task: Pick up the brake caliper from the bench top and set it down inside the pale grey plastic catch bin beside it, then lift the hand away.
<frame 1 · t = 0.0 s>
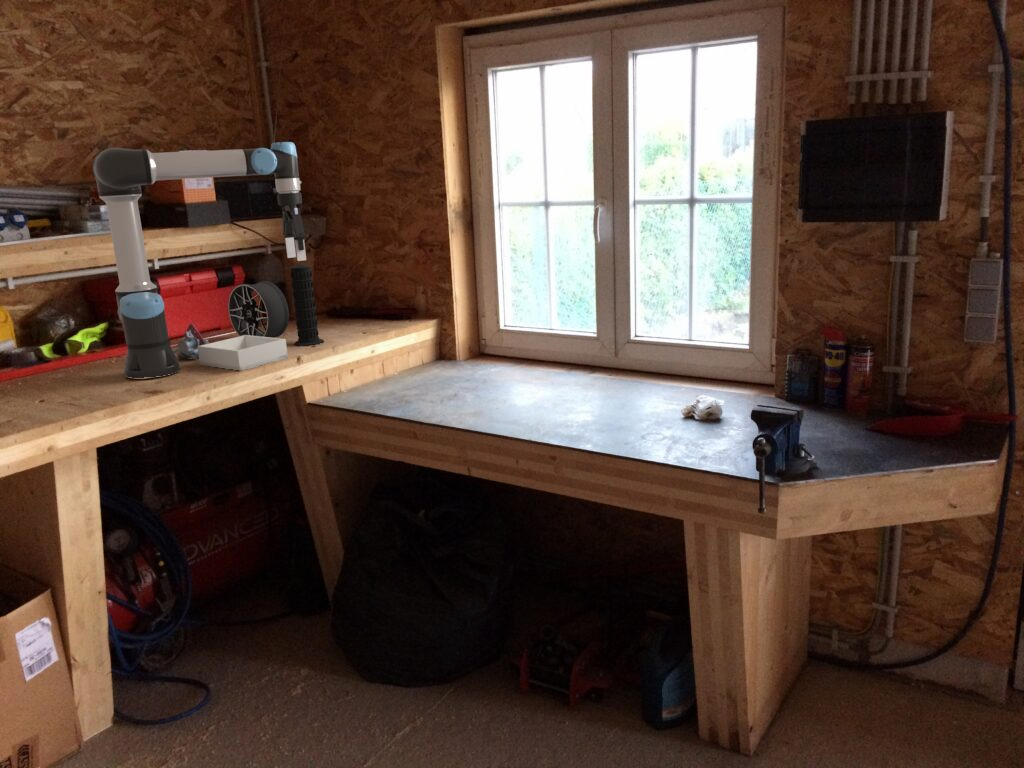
hand: (296, 259, 279), 28 cm above the workbench, tool pointing down, fingers open, 13 cm apart
handle grip: (309, 343, 286), on the workbench
wheel rim: (262, 340, 296), on the workbench
catch bin: (244, 361, 263), on the workbench
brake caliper: (195, 358, 273), on the workbench
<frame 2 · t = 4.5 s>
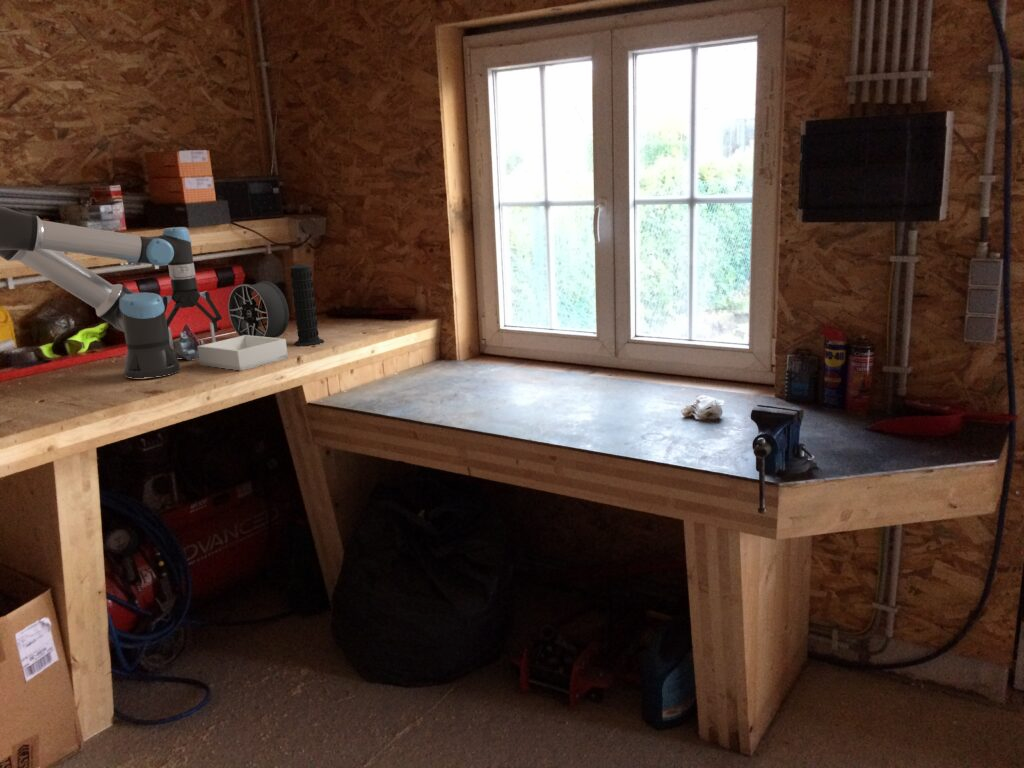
hand: (193, 345, 272), 4 cm above the workbench, tool pointing down, fingers open, 12 cm apart
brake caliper: (190, 359, 272), on the workbench, touching gripper
everything else where it was.
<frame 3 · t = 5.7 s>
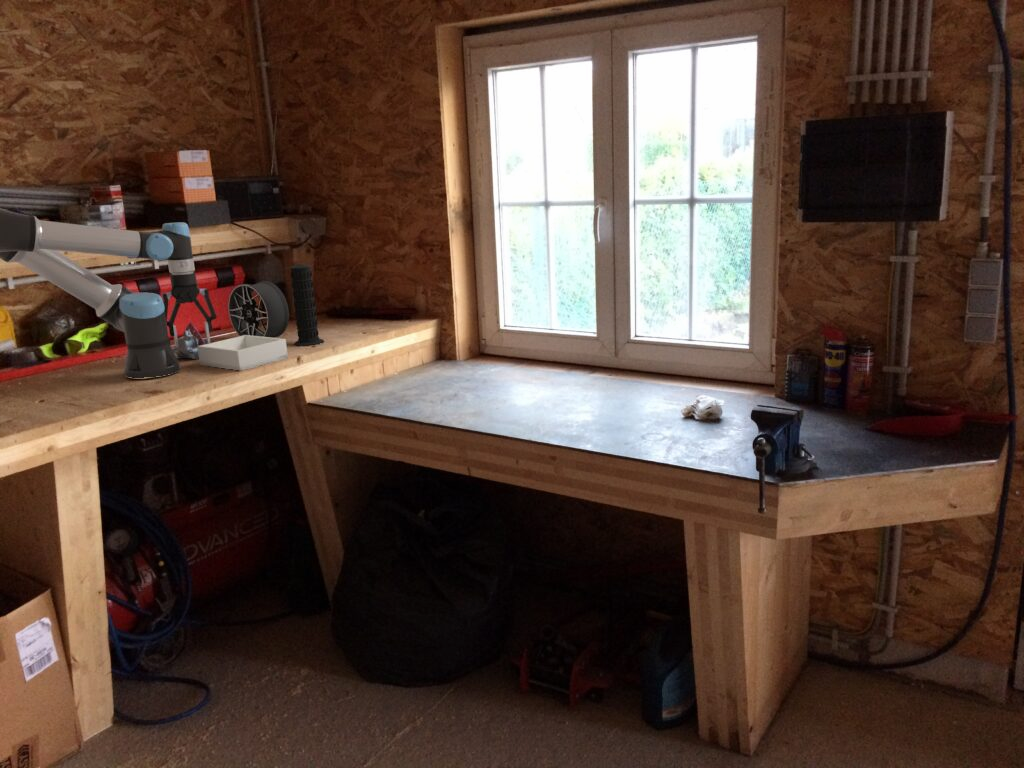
hand: (193, 344, 272), 4 cm above the workbench, tool pointing down, fingers closed on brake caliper, 9 cm apart
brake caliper: (193, 357, 273), on the workbench, touching gripper
everything else where it was.
when the fingers open (6 cm above the workbench, at t = 11.4 s): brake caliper stays where it is, resting on catch bin.
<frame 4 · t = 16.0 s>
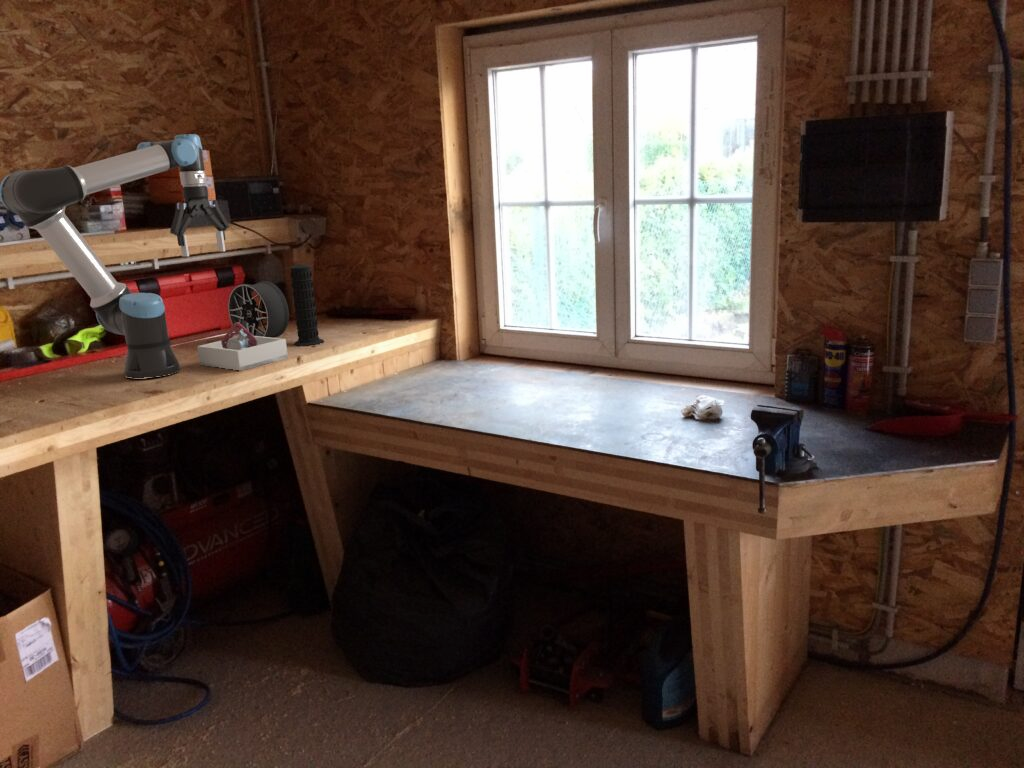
hand: (204, 253, 274), 32 cm above the workbench, tool pointing down, fingers open, 13 cm apart
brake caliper: (240, 359, 262), point 1 cm above the workbench, touching catch bin
everything else where it was.
at the end: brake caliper inside the target area on the catch bin (0.9 cm from its centre), point 1.0 cm above the catch bin's base; the gripper is holding nothing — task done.
